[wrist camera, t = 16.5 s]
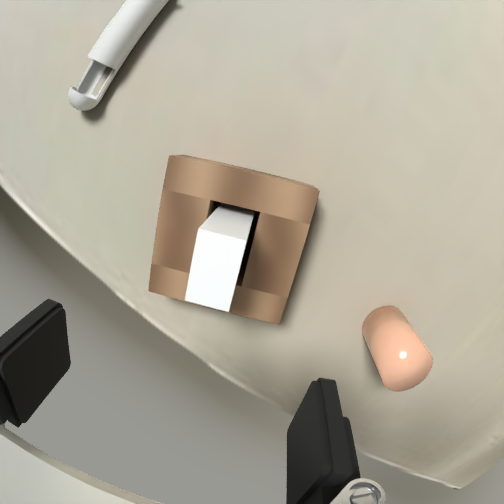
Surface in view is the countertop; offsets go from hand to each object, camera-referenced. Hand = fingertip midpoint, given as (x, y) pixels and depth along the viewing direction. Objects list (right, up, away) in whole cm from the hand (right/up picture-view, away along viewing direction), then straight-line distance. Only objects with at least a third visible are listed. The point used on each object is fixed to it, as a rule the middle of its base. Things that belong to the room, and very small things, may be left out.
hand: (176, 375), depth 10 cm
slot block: (+1, +6, +19) cm, 20 cm away
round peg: (+17, -4, +21) cm, 27 cm away
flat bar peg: (+1, +6, +19) cm, 20 cm away
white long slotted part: (-9, +26, +14) cm, 31 cm away
